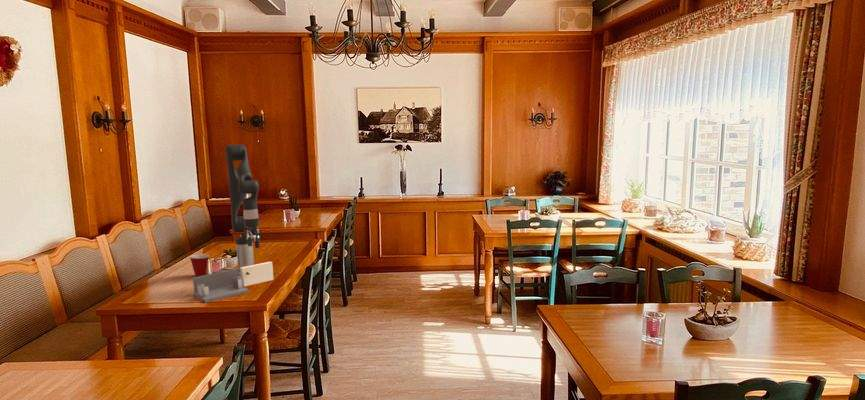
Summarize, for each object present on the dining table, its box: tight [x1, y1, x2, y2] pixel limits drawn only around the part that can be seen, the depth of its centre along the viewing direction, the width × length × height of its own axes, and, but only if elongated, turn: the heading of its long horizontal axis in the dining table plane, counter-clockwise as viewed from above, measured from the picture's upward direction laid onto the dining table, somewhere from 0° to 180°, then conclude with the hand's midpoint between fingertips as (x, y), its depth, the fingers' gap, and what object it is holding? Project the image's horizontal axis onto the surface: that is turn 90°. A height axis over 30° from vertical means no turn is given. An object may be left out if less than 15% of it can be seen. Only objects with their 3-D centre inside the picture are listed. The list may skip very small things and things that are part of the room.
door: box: [240, 261, 275, 287], centre depth 287 cm, size 4×17×10 cm, turn 132°
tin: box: [217, 266, 241, 277], centre depth 289 cm, size 15×3×8 cm, turn 84°
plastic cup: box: [188, 254, 211, 277], centre depth 304 cm, size 11×11×12 cm
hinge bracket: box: [192, 269, 250, 303], centre depth 268 cm, size 16×22×10 cm
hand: (253, 247), depth 283 cm, fingers open, 8 cm apart
